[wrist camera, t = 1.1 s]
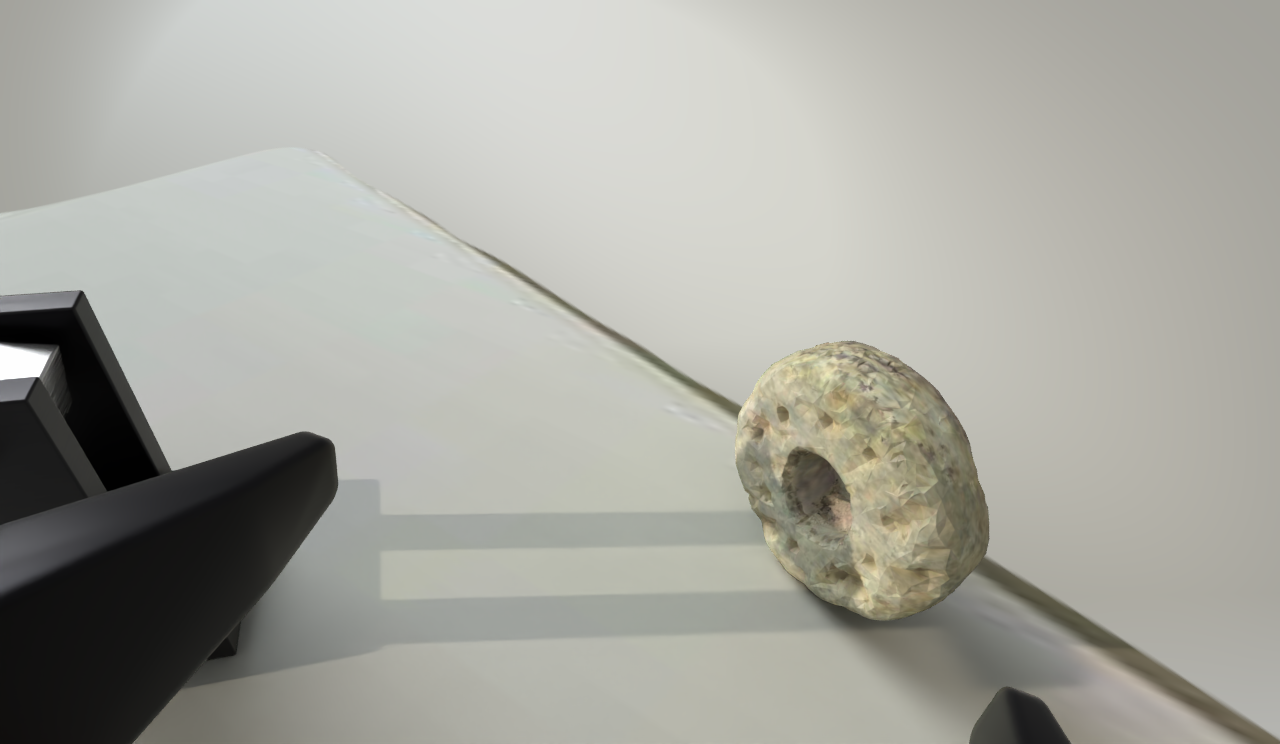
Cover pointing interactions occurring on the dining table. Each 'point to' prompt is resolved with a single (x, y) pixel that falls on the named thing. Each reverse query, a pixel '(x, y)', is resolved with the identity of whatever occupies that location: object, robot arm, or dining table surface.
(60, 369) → the lever
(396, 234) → the dining table surface
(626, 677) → the dining table surface
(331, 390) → the dining table surface
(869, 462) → the stone ring
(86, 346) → the bracket
